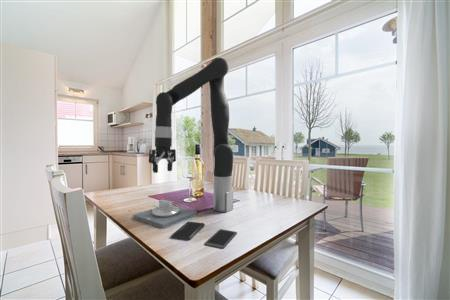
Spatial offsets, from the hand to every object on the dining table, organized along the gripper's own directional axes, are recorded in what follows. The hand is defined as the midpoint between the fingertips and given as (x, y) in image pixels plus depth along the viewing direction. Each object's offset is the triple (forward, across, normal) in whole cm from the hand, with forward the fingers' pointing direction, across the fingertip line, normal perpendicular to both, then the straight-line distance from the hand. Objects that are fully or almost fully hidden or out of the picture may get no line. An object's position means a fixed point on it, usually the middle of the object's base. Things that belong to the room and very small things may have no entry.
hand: (162, 171), depth 101 cm
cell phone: (+21, -6, -37) cm, 43 cm away
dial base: (+20, 0, -3) cm, 21 cm away
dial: (+19, 0, -1) cm, 19 cm away
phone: (+21, -7, -23) cm, 32 cm away
